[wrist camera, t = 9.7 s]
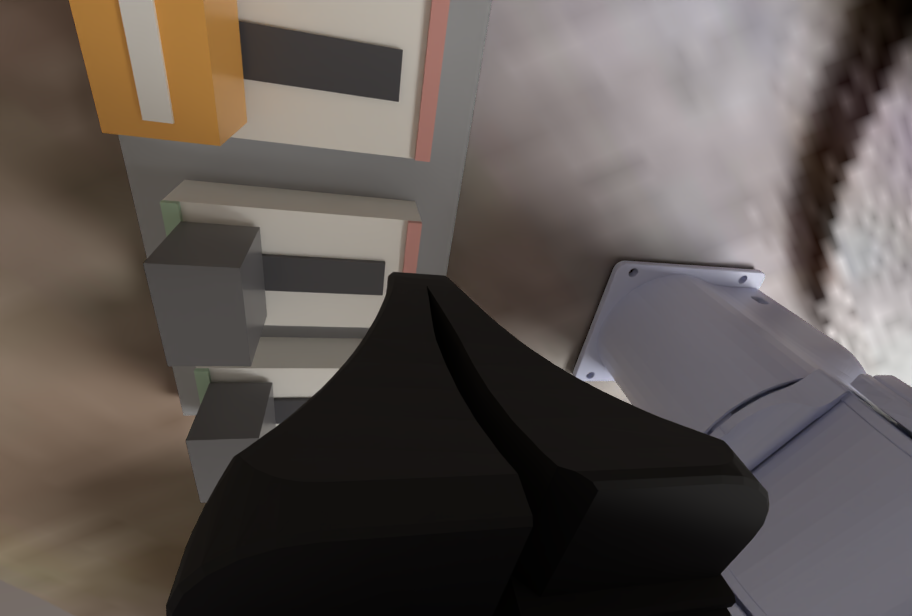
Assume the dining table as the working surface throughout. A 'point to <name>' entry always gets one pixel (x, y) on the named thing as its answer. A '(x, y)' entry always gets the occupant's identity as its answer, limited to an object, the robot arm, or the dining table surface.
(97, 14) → the handle
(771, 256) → the dining table surface
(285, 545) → the robot arm
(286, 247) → the breaker board
